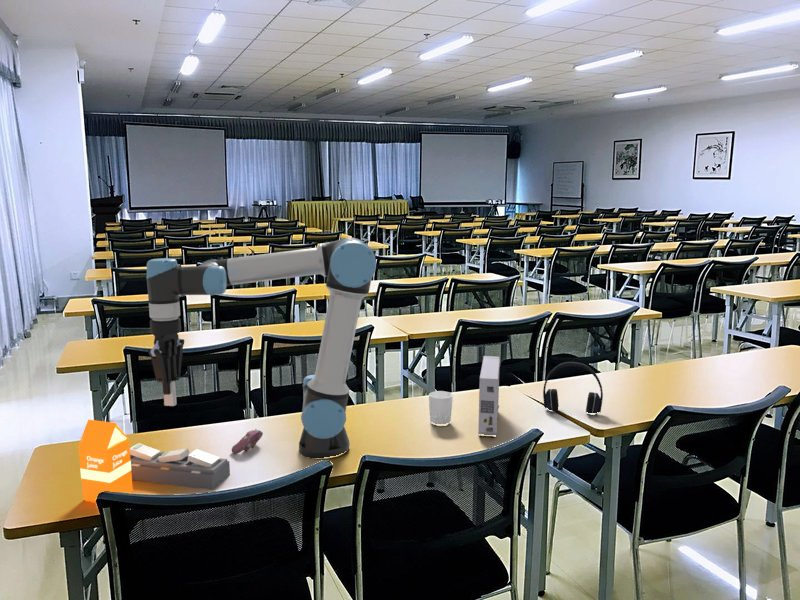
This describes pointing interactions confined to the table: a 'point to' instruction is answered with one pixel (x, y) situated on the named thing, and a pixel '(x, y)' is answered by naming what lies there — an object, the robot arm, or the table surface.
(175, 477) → the power strip
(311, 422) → the robot arm
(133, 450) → the rocker
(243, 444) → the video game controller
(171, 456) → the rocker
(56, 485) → the table surface
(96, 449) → the orange juice
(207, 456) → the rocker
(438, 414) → the white cup
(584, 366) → the headphones
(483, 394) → the game console
